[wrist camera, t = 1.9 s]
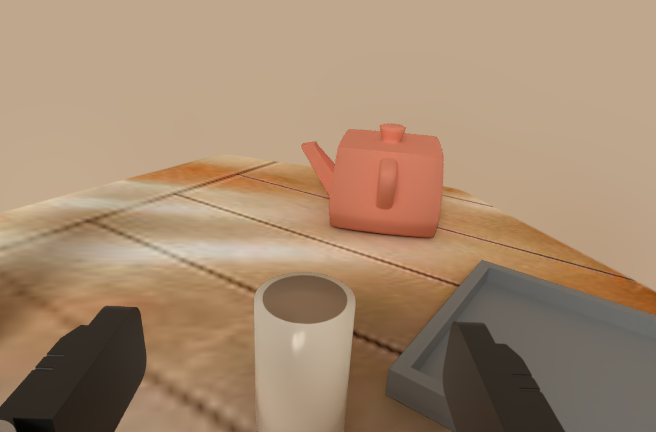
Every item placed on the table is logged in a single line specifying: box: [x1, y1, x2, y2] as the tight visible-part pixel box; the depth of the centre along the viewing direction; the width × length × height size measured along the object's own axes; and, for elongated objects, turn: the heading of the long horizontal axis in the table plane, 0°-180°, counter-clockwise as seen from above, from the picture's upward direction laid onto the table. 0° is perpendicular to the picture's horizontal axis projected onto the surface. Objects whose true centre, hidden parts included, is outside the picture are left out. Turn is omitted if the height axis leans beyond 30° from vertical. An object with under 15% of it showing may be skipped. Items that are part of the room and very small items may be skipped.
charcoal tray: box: [385, 260, 656, 432], centre depth 36 cm, size 22×22×2 cm
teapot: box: [301, 124, 443, 237], centre depth 63 cm, size 20×22×14 cm
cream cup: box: [254, 272, 356, 432], centre depth 27 cm, size 6×6×12 cm
